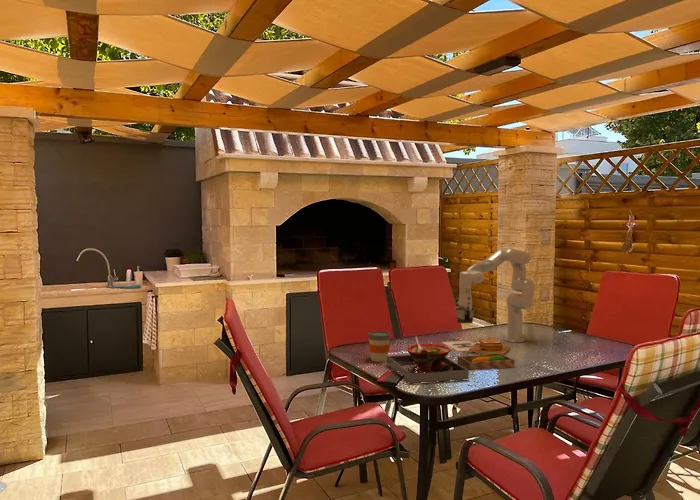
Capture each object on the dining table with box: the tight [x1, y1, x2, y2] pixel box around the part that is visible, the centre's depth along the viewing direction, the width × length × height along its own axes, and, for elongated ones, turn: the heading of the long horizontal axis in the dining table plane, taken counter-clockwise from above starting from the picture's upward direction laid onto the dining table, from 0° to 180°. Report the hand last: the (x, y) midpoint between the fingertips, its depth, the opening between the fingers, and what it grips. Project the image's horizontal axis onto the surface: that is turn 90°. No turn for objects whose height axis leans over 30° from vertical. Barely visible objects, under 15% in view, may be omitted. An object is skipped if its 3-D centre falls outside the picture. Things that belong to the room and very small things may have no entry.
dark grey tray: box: [386, 354, 470, 384], centre depth 280 cm, size 31×35×5 cm
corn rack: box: [457, 353, 516, 371], centre depth 296 cm, size 27×14×4 cm, turn 105°
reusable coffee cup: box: [367, 330, 391, 363], centre depth 305 cm, size 13×13×15 cm
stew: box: [406, 335, 453, 373], centre depth 285 cm, size 28×24×16 cm
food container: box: [454, 305, 476, 324], centre depth 341 cm, size 12×6×10 cm, turn 87°
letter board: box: [441, 340, 476, 353], centre depth 341 cm, size 20×24×1 cm
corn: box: [472, 351, 504, 362], centre depth 294 cm, size 7×8×20 cm
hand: (464, 319), depth 340 cm, fingers closed on food container, 5 cm apart
